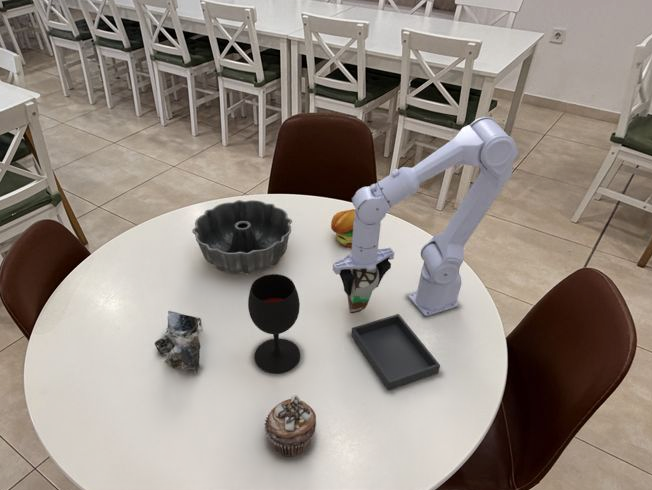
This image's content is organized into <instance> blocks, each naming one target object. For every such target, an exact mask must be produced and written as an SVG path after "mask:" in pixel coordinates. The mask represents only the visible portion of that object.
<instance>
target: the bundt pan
mask: <svg viewBox="0 0 652 490" xmlns="http://www.w3.org/2000/svg"><path fill="white" fill-rule="evenodd" d="M292 223H293V219H292V218H289V216H288V212H286V210H285V209H283V208H280V207H278V206H276V205H275V204H274V203H266V202H264V201H262V200H254V199H253V200H240V199H239V200H238V199H237V200H235V201H233V202H224V203H223V202H222V203H220V204H217V205H216V206H214V207H213V208H210V209H206V210H205V211H204V213H203V214H201V215H200V216H198V217H197V218H196V220H195V222H194V228H193V229H192V234H193V235H194V236H195V241H196V242H197V244H198V247H199V249H200V252H201V253H202V255H203V258H204V260H205V261H206V262H207V263H209V264H210V265H211V266H214V267H215V269H216V270H217V271H219V272H224V271H225V272H227V273H229V274H232V275H239V274H242V273H244V274H246V275H249V276H250V275H251V274H252V273H253V272H264V271H265V270H268V268H270V266H275V265H277V264H278V263H279V262H280V260H281V258H282V257H283V256H284V255H285V254H286V251H287V249H288V244H289V238H290V235H291V233H292V225H291V224H292Z"/></svg>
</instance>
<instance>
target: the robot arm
mask: <svg viewBox="0 0 652 490" xmlns="http://www.w3.org/2000/svg"><path fill="white" fill-rule="evenodd" d="M519 153H520V152H519V150H518V147H517V144H516V142H515V140H514V139H513V137H511V136H509V135H508V134H507V132H506V131H504V130H503V128H501V126H500V125H499V124H498V123H497V121H496V120H495V119H494V118H492V117H490V116H482V117H479V118H477V119H475V120H474V121H472V122H471V123H470V124H468V125H465V126H464V127H463V126H462V128H461V129H460V130H459V131H458V132H457V134H456V135H455V137H453V138H452V139H450V141H448V142H446V143H445V144H444V145H442V146H441V147H440V148H438V149H437V150H435V151H434V152H433V153H431V154H430V155H428V156H426V158H424V159H422V160H421V161H419V162H418V163H416V164H415V165H414V166H412V167H407V166H401V167H399V169H398V168H394V169H393V170H391V174H388V175H387V176H386V177H384V178H382V179H381V180H379V181H377V182H376V183H372V184H370V186H369V185H368V186H363V187H361V188H359V189H357V191H356V192H355V194H354V195H353V197H351V203H352V205H353V206H354V209H356V210H355V217H354V223H353V238H352V247H351V252H350V254H348V255H346V256H344V257H342V258H341V259H339V260H337V261H335V262H333V263H332V272H334V274H335V275H339V277H340V279H341V282H342V285H343V291H344V293H345V294H346V296H347V295H351V290H352V283H353V280H354V278H355V277H354V276H353V274H352V271H351V269H367V270H368V271H370V270H373V269H375V268H376V266H377V268H378V271H379V283H378V285H377V287H376V288H379V285H380V284H381V281H382V280H383V278H384V276H385V275H386V274H387V272H388V271H389V270H390V269H392V263H391V262H390V261H391V260H394V258H395V251H394V250H393V249H392V248H391V247H387V248H379V242H380V233H381V225H382V224H381V222H382V221H383V219H384V218H385V217H386V215H387V213H388V212H389V211H390V210H391V208H392V207H395V206H396V205H398V204H400V203H401V202H403V201H404V200H406V199H408V198H409V197H411V196H413V195H414V194H416V193H418V191H419V188H420V185H421V184H422V183H424V182H425V181H427V180H429V179H431V178H433V177H435V176H437V175H439V174H440V173H443V172H445V171H446V170H448V169H450V168H452V167H455V166H456V165H458V164H462V165H465V166H471V167H475V168H477V167H479V168H480V172H479V174H478V176H477V177H476V179H475V181H474V182H473V183H472V185H471V187H470V188H469V189H468V192H466V194H465V197H464V198H463V200H462V201H461V203H460V204H459V206H458V208H457V209H456V210H455V213H454V214H453V215H452V217H451V219H450V221H449V222H448V224H447V225H446V227H445V228H444V230H443V231H442V232H441V233H436V234H434V235H433V237H432V238H431V239H430V240H429V241H427V242H426V243H425V244H424V245H423V246H422V248H421V249H420V257H421V259H422V261H423V264H422V267H421V270H420V275H419V276H420V277H419V279H418V280H419V281H418V284H417V285H418V286H417V289H416V292H414V293H411V294H408V299H410V301H411V302H412V303H413V304H414V305H415V306H416V307H417V309H418V310H419V311H420V312H421V313H422V315H423V316H425V317H428V316H432V315H434V314H438V313H441V312H444V311H447V310H451V309H455V308H458V307H459V303H458V298H459V295H460V291H461V287H462V277H461V274H460V268H461V266H462V264H463V263H464V256H465V255H464V249H465V245H466V244H467V242H468V241H469V239H470V238H471V236H472V235H473V233H474V232H475V230H476V229H477V227H478V226H479V225H480V223H481V222H482V220H483V218H484V217H485V216H486V214H487V213H488V211H489V210H490V208H491V207H492V205H493V204H494V202H495V201H496V199H497V198H498V197H499V195H500V193H501V192H502V190H503V189H504V187H505V186H506V185H507V183H508V182H509V180H510V178H511V177H512V174H513V169H514V162H515V159H516V158H517V157H518V155H519Z"/></svg>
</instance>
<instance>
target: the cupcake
mask: <svg viewBox="0 0 652 490" xmlns="http://www.w3.org/2000/svg"><path fill="white" fill-rule="evenodd" d="M316 419H317V416H316V412H315V411H314V409H313V408H312V407H311V406H310V405H309V404H308V403H307V402H305V401H304V400H301V399H300V397H299V396H298V395H297V394H294V395H292V396H291V398H288V399H286V400H282V401H281V402H279V403H278V404H276V405H275V406H274V407H273V408H272V409H271V410H270V411H269V412H268V414H267V416H266V419H264V422H265V423H264V427H263V428H264V432H265V435H266V437H267V438H268V441H269V444H270V445H271V448H272V449H273V450H274V451H275V452H276V453H277V454H279V455H281V456H283V457H287V458H288V457H296V456H300V455H301V454H302V453H304V452H305V451H306V450H307V449H308V448H309V446H310V445H311V442H312V439H313V437H314V434H315V433H316V427H317V420H316Z"/></svg>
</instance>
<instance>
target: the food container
mask: <svg viewBox="0 0 652 490" xmlns="http://www.w3.org/2000/svg"><path fill="white" fill-rule="evenodd" d="M351 271H352V274H353V276H354V277H355V278H354V280H353V283H352V290H351V295H347V294H346V296H347V303H348V311H349V314H356V313H361V312H362V311H364V310H365V309H366V307H367V306H368V304H369V302H370V299H371V296H372V294H373V292H374V290H376V289H377V288H378V287H377V285H378V283H379V271H378V268H377V266H376V268H375V269H373V270H370V271H368V270H367V269H351ZM379 284H380V283H379Z"/></svg>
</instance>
